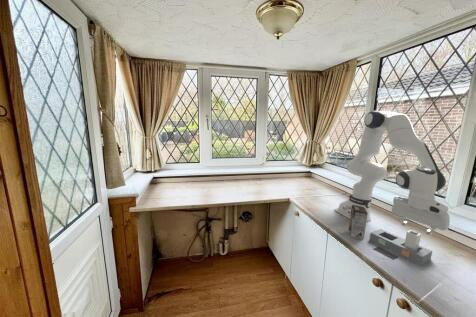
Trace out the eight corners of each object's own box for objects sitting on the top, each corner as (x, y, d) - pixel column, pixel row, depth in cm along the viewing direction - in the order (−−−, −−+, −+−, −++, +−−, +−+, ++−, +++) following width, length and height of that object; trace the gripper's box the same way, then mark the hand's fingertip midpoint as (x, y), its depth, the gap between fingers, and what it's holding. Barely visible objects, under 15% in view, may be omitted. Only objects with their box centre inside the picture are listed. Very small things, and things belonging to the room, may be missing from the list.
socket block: (368, 241, 107) (370, 232, 106) (379, 236, 112) (380, 228, 111) (420, 267, 88) (422, 257, 87) (430, 260, 93) (432, 251, 92)
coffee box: (347, 230, 118) (351, 204, 116) (360, 232, 116) (364, 206, 114) (350, 237, 110) (354, 210, 107) (363, 240, 108) (368, 212, 105)
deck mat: (372, 250, 99) (372, 249, 99) (378, 247, 102) (378, 246, 102) (393, 261, 92) (393, 259, 91) (398, 258, 94) (398, 257, 94)
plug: (403, 250, 96) (407, 230, 95) (407, 248, 98) (411, 228, 97) (413, 255, 93) (417, 234, 91) (417, 253, 95) (421, 232, 93)
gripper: (390, 196, 99) (387, 221, 102) (448, 212, 81) (442, 242, 84) (397, 193, 102) (393, 218, 105) (453, 208, 84) (448, 238, 87)
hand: (415, 229), depth 94 cm, fingers open, 8 cm apart
